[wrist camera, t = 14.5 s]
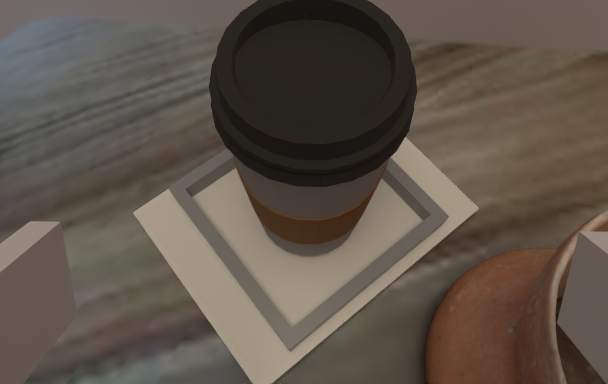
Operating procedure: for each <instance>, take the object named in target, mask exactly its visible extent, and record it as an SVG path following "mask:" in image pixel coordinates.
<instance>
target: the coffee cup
mask: <svg viewBox="0 0 608 384" xmlns="http://www.w3.org/2000/svg"><path fill="white" fill-rule="evenodd" d="M209 90H210V95H211V108H212V113H213V118H214V123H215V127H216V129H217V131H218V133H219V135H220V136H221V138H222V140H223V142H224V144H225V146H226V147H227V149H228V150H230V151H231V153H232V155H233V158H234V161H235V165H236V169H237V172H238V174H239V177H240V179H241V181H242V184H243V186H244V188H245V190H246V193H247V195H248V197H249V200H250V202H251V204H252V207H253V209H254V211H255V213H256V215H257V216H258V218H259V220H260V222H261V224H262V226H263V228H264V230H265V232H266V234H267V236H268V237H269V238H270V239H271V240H272V241H273V242H274V243H275V244H276V245H277V246H279V247H280V248H282V249H284V250H285V251H287V252H290V253H293V254H297V255H300V256H317V255H321V254H325V253H329V252H330V251H332V250H334V249H336V248H338V247H340V246H341V245H342V244H343V243H344V242H345V241H346V240H347V239H348V238H349V236H350V235H351V233H352V231H353V230H354V228H355V226H356V225H357V223H358V222H359V220H360V218H361V217H362V215H363V213H364V212H365V210H366V208H367V206H368V204H369V202H370V200H371V198H372V196H373V194H374V192H375V190H376V188H377V186H378V184H379V182H380V180H381V179H382V177H383V175H384V173H385V171H386V168H387V165H388V161H389V158H390V157H391V156H392V155H393V154H394V153H395V152H396V151H397V150H398V148H399V147H400V145H401V143H402V142H403V140H404V138H405V137H406V135H407V133H408V132H409V128H410V124H411V120H412V115H413V111H414V103H415V98H416V94H417V86H416V75H415V68H414V66H413V63H412V61H411V51H410V49H409V46H408V44H407V41H406V39H405V37H404V34H403V32H402V31H401V30H400V29H399V27H398V26H397V25H396V24H395V22H394V21H393V20H392V19H391V17H390V16H389V15H388V14H386V13H385V12H383V11H382V10H380V9H379V8H378V7H377V6H375V5H374V4H373V3H371V2H369V1H367V0H258V1H257V2H255V3H254V4H252V5H251V6H249V7H248V8H246V9H245V10H243V11H242V12H240V14H239V15H238V16H237V17H236V18H235V20H233V21H232V23H231V24H230V25H229V26H228V27H227V28H226V30H225V32H224V34H223V37H222V39H221V41H220V43H219V45H218V48H217V55H216V57H215V60H214V62H213V64H212V69H211V76H210V84H209Z"/></svg>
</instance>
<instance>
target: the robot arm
mask: <svg viewBox="0 0 608 384" xmlns="http://www.w3.org/2000/svg"><path fill="white" fill-rule="evenodd" d="M76 315H77V311H76V306H75V300H74V294H73V289H72V283H71V278H70V272H69V266H68V261H67V255H66V250H65V244H64V239H63V233H62V227H61V222H35V221H30V222H29V223H28V224H26V225H25V226H23V227H22V228H21V229H19V230H18V231H17V232H15V233H14V234H13V235H11V236H10V237H9V238H7V239H6V240H5V241H3V242H2V243H1V244H0V384H23V383H24V382H25V381H26V379H27V378H28V377H29V376H30V374H31V373H32V372H33V370H34V369H35V368H36V367H37V365H38V364H39V363H40V361H41V360H42V359H43V357H44V356H45V355H46V354H47V352H48V351H49V350H50V348H51V347H52V346H53V345H54V343H55V342H56V341H57V339H58V338H59V337H60V335H61V334H62V333H63V332H64V330H65V329H66V328H67V326H68V325H69V324H70V323H71V321H72V320H73V319H74V317H75V316H76ZM557 324H558V325H559V326H560V327H561V328H562V330H563V331H564V332H565V333H566V335H567V336H568V337H569V338H570V340H571V341H572V342H573V343H574V345H575V346H576V347H577V348H578V349H579V351H580V352H581V353H582V354H583V356H584V357H585V358H586V359H587V361H588V362H589V363H590V364H591V365H592V367H593V368H594V369H595V370H596V372H597V373H598V374H599V375H600V377H601V378H602V379H603V380H604V381H605V383H606V384H608V232H592V231H579V234H578V238H577V242H576V246H575V250H574V254H573V258H572V263H571V267H570V271H569V275H568V279H567V283H566V287H565V291H564V296H563V300H562V304H561V308H560V312H559V316H558V320H557Z"/></svg>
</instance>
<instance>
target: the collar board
mask: <svg viewBox="0 0 608 384" xmlns="http://www.w3.org/2000/svg"><path fill="white" fill-rule="evenodd" d="M168 188H169V189H168V190H166V191H165V192H163V193H162V194H160V195H159V196H157V197H156V198H154V199H153V200H151V201H150V202H148V203H147V204H145V205H144V206H142V207H141V208H139V209H138V210H136V211H135V212H133V214H134V215H135V216H136V218H137V219H138V221H139V222H140V224H141V225H142V226H143V228H144V229H145V231H146V232H147V234H148V235H149V236H150V238H151V239H152V241H153V242H154V244H155V245H156V246H157V248H158V249H159V251H160V252H161V254H162V255H163V256H164V258H165V259H166V261H167V262H168V264H169V265H170V266H171V268H172V269H173V271H174V272H175V274H176V275H177V276H178V278H179V279H180V281H181V282H182V284H183V285H184V286H185V288H186V289H187V291H188V292H189V294H190V295H191V296H192V298H193V299H194V301H195V302H196V303H197V305H198V306H199V308H200V309H201V311H202V312H203V313H204V315H205V316H206V318H207V319H208V321H209V322H210V323H211V325H212V326H213V328H214V329H215V331H216V332H217V333H218V335H219V336H220V338H221V339H222V341H223V342H224V343H225V345H226V346H227V348H228V349H229V351H230V352H231V353H232V355H233V356H234V358H235V359H236V361H237V362H238V363H239V365H240V366H241V368H242V369H243V371H244V372H245V373H246V375H247V376H248V378H249V379H250V381H251V382H252V383H253V384H274V383H275V382H276V381H277V380H279V379H280V378H281V377H282V376H283V375H284V374H286V373H287V372H288V371H289V370H290V369H292V368H293V367H294V366H295V365H296V364H297V363H299V362H300V361H301V360H302V359H303V358H305V357H306V356H307V355H308V354H309V353H310V352H312V351H313V350H314V349H315V348H316V347H318V346H319V345H320V344H321V343H322V342H323V341H325V340H326V339H327V338H328V337H329V336H331V335H332V334H333V333H334V332H335V331H337V330H338V329H339V328H340V327H341V326H342V325H344V324H345V323H346V322H347V321H348V320H350V319H351V318H352V317H353V316H354V315H355V314H357V313H358V312H359V311H360V310H361V309H363V308H364V307H365V306H366V305H367V304H368V303H370V302H371V301H372V300H373V299H374V298H376V297H377V296H378V295H379V294H380V293H381V292H383V291H384V290H385V289H386V288H387V287H389V286H390V285H391V284H392V283H393V282H395V281H396V280H397V279H398V278H399V277H400V276H402V275H403V274H404V273H405V272H406V271H408V270H409V269H410V268H411V267H412V266H413V265H415V264H416V263H417V262H418V261H419V260H421V259H422V258H423V257H424V256H425V255H426V254H428V253H429V252H430V251H431V250H432V249H434V248H435V247H436V246H437V245H438V244H440V243H441V242H442V241H443V240H444V239H445V238H447V237H448V236H449V235H450V234H451V233H453V232H454V231H455V230H456V229H457V228H458V227H460V226H461V225H462V224H463V223H464V222H466V221H467V220H468V219H469V218H470V217H471V216H473V215H474V214H475V213H476V212H477V210H478V209H479V208H478V207H477V206H476V205H475V204H474V203H473V202H472V201H471V200H470V199H469V198H468V197H467V196H466V195H465V194H464V193H463V192H461V191H460V190H459V189H458V188H457V187H456V186H455V185H454V184H453V183H452V182H451V181H450V180H449V179H448V178H447V177H446V176H445V175H444V174H443V173H442V172H441V171H440V170H439V169H438V168H437V167H436V166H435V165H434V164H433V163H432V162H431V161H430V160H429V159H428V158H426V157H425V156H424V155H423V154H422V153H421V152H420V151H419V150H418V149H417V148H416V147H415V146H414V145H413V144H412V143H411V142H410V141H409V140H408V139H407V138H406V137H405V138H404V140H403V142H402V143H401V145H400V147H399V148H398V150H397V151H396V152H395V153H394V154H393V155H392V156H391V157H390V158H389V161H388V165H387V168H386V171H385V173H384V175H383V177H382V179H381V180H380V182H379V184H378V186H377V188H376V190H375V192H374V194H373V196H372V198H371V200H370V202H369V204H368V206H367V208H366V210H365V212H364V213H363V215H362V217H361V218H360V220H359V222H358V223H357V225H356V226H355V228H354V230H353V231H352V233H351V235H350V236H349V238H348V239H347V240H346V241H345V242H344V243H343V244H342V245H341V246H340V247H338V248H336V249H334V250H332V251H330V252H329V253H325V254H321V255H317V256H300V255H297V254H293V253H290V252H287V251H285V250H284V249H282V248H280V247H279V246H277V245H276V244H275V243H274V242H273V241H272V240H271V239H270V238H269V237H268V236H267V234H266V232H265V230H264V228H263V226H262V224H261V222H260V220H259V218H258V216H257V215H256V213H255V211H254V209H253V207H252V204H251V202H250V200H249V197H248V195H247V193H246V190H245V188H244V186H243V184H242V181H241V179H240V177H239V174H238V172H237V169H236V165H235V161H234V158H233V155H232V153H231V151H230V150H228V149H225V150H224V151H222V152H221V153H219V154H217V155H216V156H214V157H213V158H211V159H210V160H208V161H207V162H205V163H204V164H202V165H201V166H199V167H198V168H196V169H195V170H193V171H192V172H190V173H189V174H187V175H186V176H184V177H183V178H181V179H180V180H178V181H177V182H175V183H174V184H172V185H171V186H169V187H168Z"/></svg>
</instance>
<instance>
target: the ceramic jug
mask: <svg viewBox="0 0 608 384" xmlns="http://www.w3.org/2000/svg"><path fill="white" fill-rule="evenodd" d="M579 231H592V232H608V209H607V210H604V211H603V212H601V213H599V214H597V215H596V216H594V217H593V218H591V219H590V220H589V221H587V222H586V223H585V224H583V225H582V226H581V227H580V228H579V229H577V230H576V231H575V232H574V233H573V234H572V235H571V236H570V237H569V238H568V239H566V241H565V242H564V243H563V244H562V245H561V246H560V247H559V248H558V249H550V248H528V249H519V250H514V251H509V252H505V253H502V254H499V255H496V256H494V257H491V258H489V259H487V260H484V261H483V262H481V263H479V264H477V265H476V266H474V267H473V268H471V269H470V270H468V271H467V272H466V273H464V274H463V275H462V276H461V277H460V278H459V279H458V280H457V281H456V282H455V283H454V285H453V286H452V287H451V288H450V290H449V291H448V293H447V294H446V296H445V298H444V299H443V301H442V302H441V304H440V305H439V307H438V309H437V311H436V313H435V315H434V318H433V320H432V323H431V326H430V330H429V334H428V339H427V344H426V353H425V374H426V383H427V384H606V383H605V381H604V380H603V379H602V378H601V377H600V375H599V374H598V373H597V372H596V370H595V369H594V368H593V367H592V365H591V364H590V363H589V362H588V361H587V359H586V358H585V357H584V356H583V354H582V353H581V352H580V351H579V349H578V348H577V347H576V346H575V345H574V343H573V342H572V341H571V340H570V338H569V337H568V336H567V335H566V333H565V332H564V331H563V330H562V328H561V327H560V326H559V325H558V324H557V320H558V316H559V312H560V308H561V304H562V300H563V296H564V291H565V287H566V283H567V279H568V275H569V271H570V267H571V263H572V258H573V254H574V250H575V246H576V242H577V238H578V234H579Z"/></svg>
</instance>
